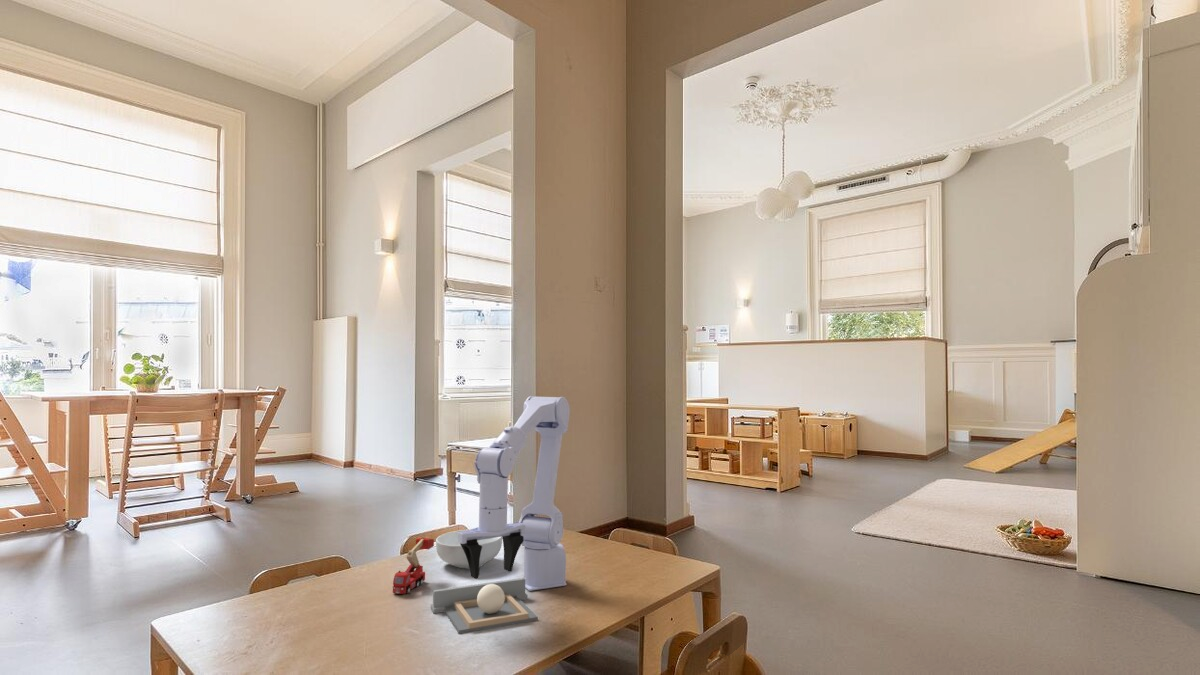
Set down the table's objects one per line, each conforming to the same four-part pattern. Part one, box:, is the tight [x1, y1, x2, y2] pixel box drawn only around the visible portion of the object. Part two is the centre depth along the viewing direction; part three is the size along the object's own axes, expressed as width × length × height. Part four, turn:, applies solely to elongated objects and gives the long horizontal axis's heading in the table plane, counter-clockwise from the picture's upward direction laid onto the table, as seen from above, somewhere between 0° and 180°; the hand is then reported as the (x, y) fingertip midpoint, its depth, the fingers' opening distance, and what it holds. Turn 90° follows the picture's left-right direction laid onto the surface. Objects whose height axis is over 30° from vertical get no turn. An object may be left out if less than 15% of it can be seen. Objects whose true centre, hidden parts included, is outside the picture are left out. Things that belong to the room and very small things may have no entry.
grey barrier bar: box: [430, 577, 529, 614], centre depth 133 cm, size 20×3×4 cm, turn 117°
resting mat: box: [443, 594, 539, 635], centre depth 127 cm, size 16×12×2 cm
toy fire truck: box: [392, 537, 435, 595], centre depth 144 cm, size 3×14×10 cm, turn 168°
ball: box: [477, 584, 505, 614], centre depth 127 cm, size 6×6×6 cm
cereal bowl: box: [435, 528, 503, 569], centre depth 161 cm, size 17×17×7 cm
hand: (491, 573), depth 127 cm, fingers open, 7 cm apart
